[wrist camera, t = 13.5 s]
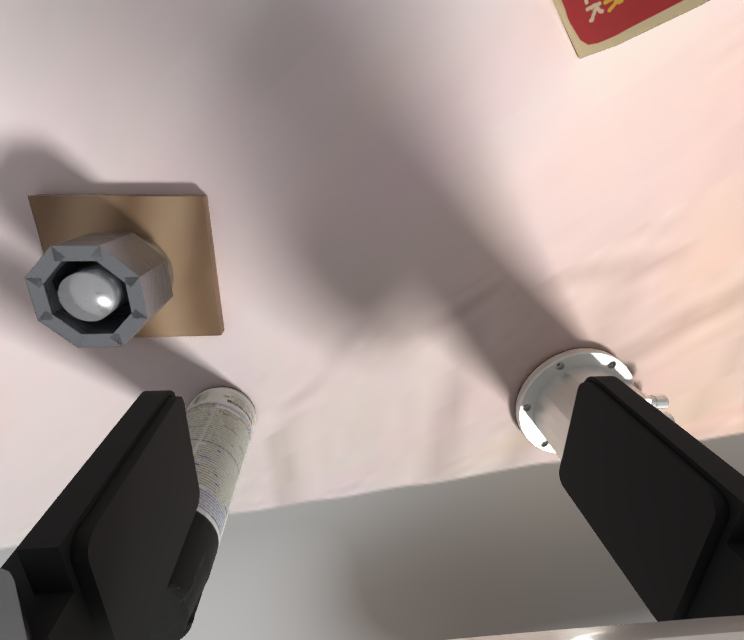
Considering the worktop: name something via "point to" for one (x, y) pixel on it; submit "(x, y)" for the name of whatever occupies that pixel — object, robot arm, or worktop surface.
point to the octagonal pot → (121, 258)
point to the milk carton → (615, 20)
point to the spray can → (206, 500)
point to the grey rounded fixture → (98, 289)
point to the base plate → (166, 228)
